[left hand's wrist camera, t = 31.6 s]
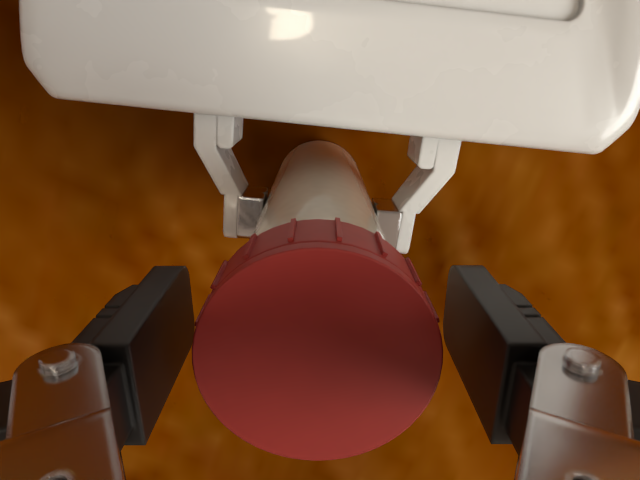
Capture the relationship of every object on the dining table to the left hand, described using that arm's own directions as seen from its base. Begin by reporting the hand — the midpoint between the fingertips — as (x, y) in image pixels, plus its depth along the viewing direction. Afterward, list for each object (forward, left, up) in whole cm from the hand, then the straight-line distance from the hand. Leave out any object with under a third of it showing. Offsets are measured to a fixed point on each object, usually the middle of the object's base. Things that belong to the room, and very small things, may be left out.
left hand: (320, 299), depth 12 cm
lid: (0, 0, +2) cm, 2 cm away
